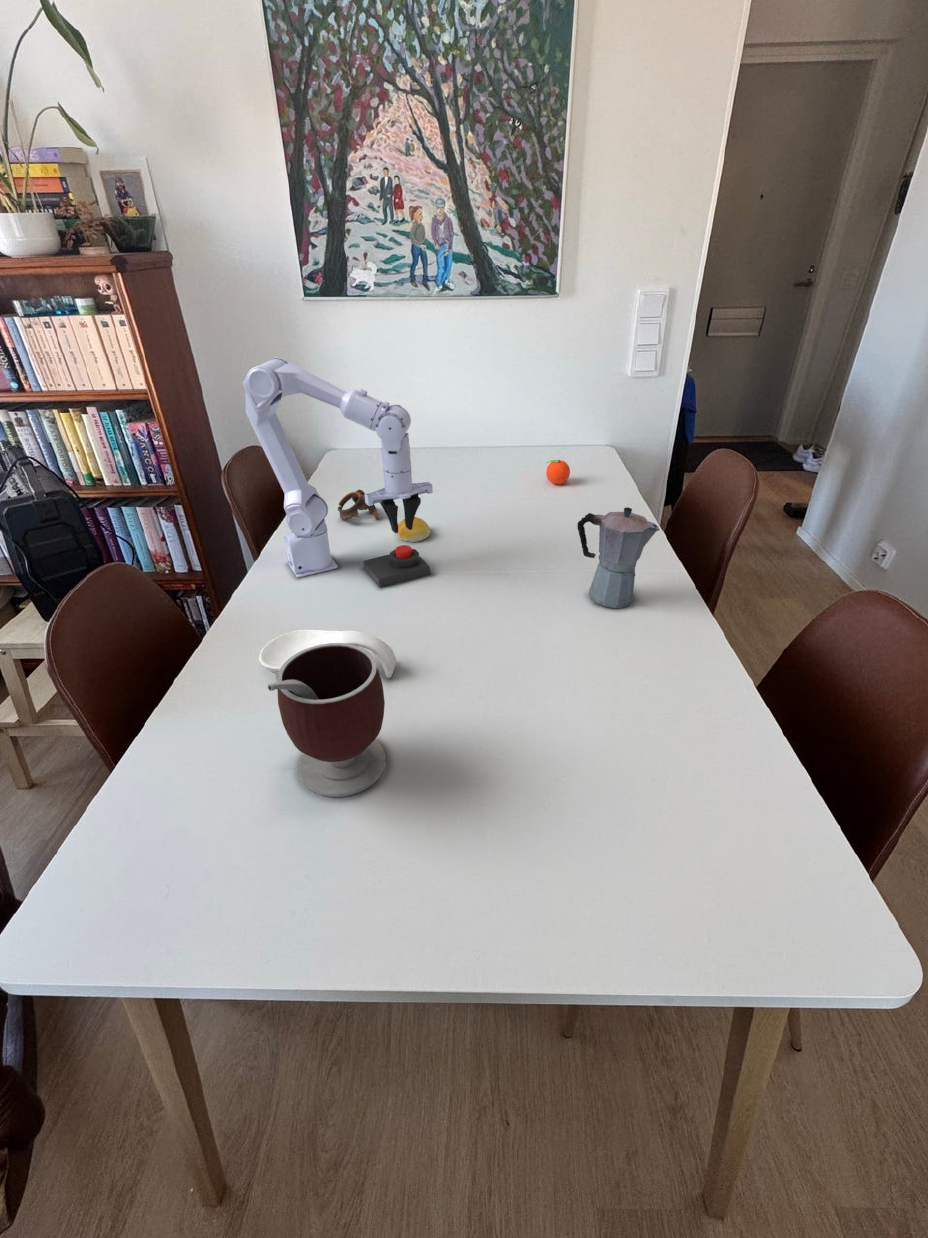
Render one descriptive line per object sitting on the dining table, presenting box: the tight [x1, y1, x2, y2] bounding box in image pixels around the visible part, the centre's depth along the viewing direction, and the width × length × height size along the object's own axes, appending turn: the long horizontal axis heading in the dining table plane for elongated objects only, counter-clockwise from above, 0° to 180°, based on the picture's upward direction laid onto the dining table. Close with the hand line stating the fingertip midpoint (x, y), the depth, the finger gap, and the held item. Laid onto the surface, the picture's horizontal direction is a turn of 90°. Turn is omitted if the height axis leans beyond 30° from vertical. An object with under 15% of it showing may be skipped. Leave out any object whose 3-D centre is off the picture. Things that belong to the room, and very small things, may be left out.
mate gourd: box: [267, 643, 387, 798], centre depth 85 cm, size 16×14×20 cm
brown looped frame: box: [337, 489, 380, 521], centre depth 165 cm, size 12×10×8 cm
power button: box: [394, 544, 413, 559], centre depth 139 cm, size 4×4×2 cm
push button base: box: [362, 548, 431, 589], centre depth 139 cm, size 12×10×4 cm
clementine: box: [545, 459, 571, 485], centre depth 183 cm, size 8×7×7 cm
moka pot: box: [576, 506, 660, 609], centre depth 124 cm, size 10×15×20 cm, turn 78°
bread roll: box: [397, 516, 432, 543], centre depth 155 cm, size 8×9×4 cm
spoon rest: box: [258, 629, 397, 679], centre depth 109 cm, size 24×12×7 cm, turn 83°
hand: (402, 529), depth 136 cm, fingers open, 3 cm apart
